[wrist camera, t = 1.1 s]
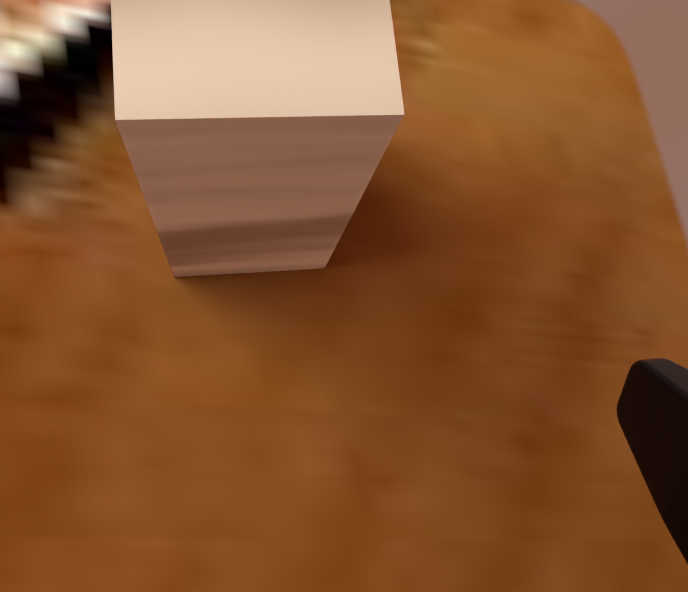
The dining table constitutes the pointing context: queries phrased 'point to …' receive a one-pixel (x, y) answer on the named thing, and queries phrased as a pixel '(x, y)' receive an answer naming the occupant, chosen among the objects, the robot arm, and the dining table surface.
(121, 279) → the dining table surface
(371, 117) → the birch block
